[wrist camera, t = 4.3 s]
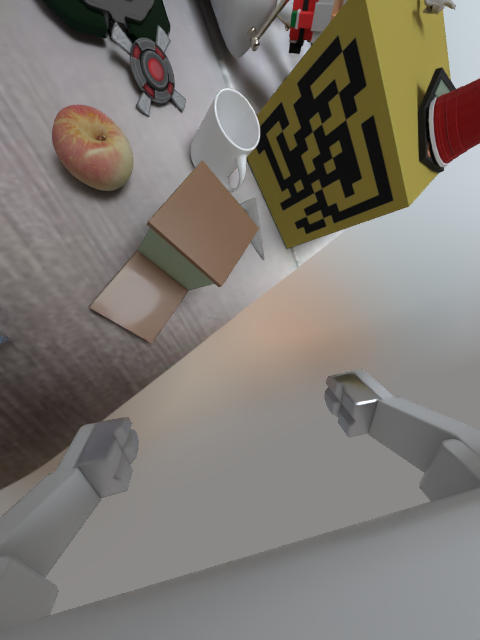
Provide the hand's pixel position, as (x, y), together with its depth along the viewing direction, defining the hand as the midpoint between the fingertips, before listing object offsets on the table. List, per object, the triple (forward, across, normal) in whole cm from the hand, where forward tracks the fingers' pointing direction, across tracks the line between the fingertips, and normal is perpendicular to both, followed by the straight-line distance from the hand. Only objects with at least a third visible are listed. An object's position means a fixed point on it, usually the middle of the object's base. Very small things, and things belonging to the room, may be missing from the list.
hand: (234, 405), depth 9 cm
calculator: (+34, -41, -17) cm, 56 cm away
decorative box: (+58, -30, -15) cm, 67 cm away
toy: (+44, +4, -29) cm, 52 cm away
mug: (+45, -4, -16) cm, 48 cm away
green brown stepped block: (+33, +9, +1) cm, 34 cm away
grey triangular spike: (+45, -15, +3) cm, 48 cm away
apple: (+36, +14, -15) cm, 41 cm away
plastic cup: (+22, -47, -20) cm, 55 cm away
